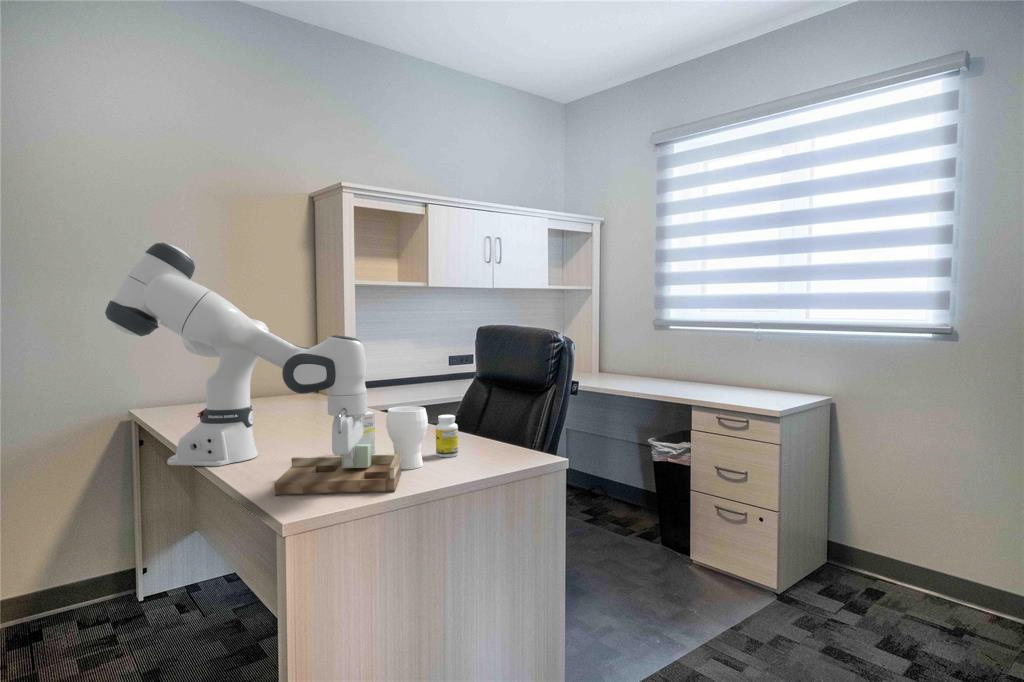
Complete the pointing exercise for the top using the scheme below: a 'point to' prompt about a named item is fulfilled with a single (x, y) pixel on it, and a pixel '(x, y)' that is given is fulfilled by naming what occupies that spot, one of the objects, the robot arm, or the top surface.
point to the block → (361, 456)
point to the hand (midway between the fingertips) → (349, 465)
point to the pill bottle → (446, 436)
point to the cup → (407, 433)
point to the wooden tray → (338, 476)
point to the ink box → (369, 431)
